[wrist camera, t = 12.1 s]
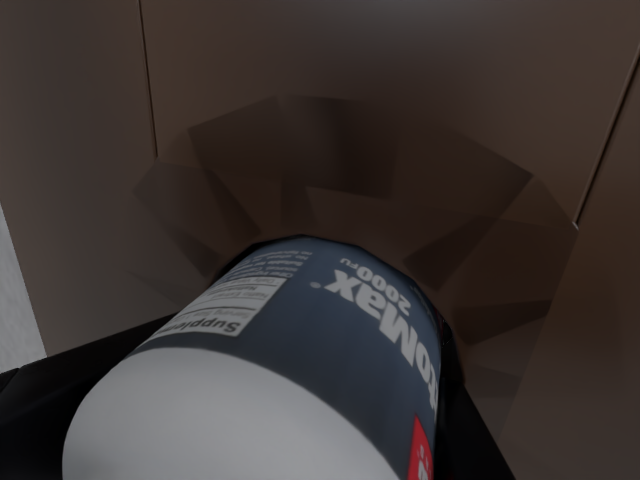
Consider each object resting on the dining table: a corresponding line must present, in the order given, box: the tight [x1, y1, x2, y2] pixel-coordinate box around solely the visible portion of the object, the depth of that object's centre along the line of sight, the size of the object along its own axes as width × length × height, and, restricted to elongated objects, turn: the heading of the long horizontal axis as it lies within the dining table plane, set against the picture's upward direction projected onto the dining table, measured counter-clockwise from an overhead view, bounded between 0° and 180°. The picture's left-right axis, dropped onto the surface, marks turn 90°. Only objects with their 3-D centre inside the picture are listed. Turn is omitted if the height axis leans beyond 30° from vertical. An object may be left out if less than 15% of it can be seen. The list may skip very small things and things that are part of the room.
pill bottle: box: [62, 234, 443, 480], centre depth 7 cm, size 5×5×9 cm
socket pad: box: [0, 0, 640, 480], centre depth 10 cm, size 18×14×3 cm
